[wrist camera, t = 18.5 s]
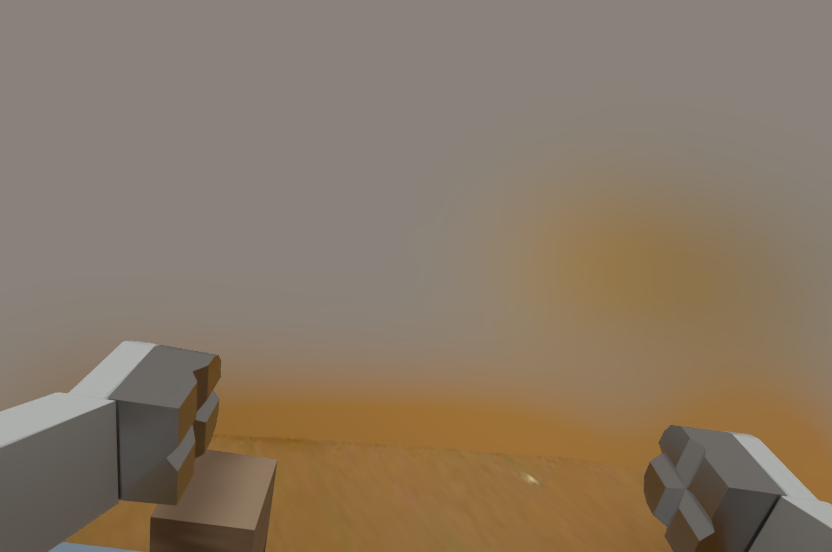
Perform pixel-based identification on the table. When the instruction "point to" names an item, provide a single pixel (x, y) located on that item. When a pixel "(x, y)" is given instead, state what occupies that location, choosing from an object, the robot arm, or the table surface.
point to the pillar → (218, 507)
